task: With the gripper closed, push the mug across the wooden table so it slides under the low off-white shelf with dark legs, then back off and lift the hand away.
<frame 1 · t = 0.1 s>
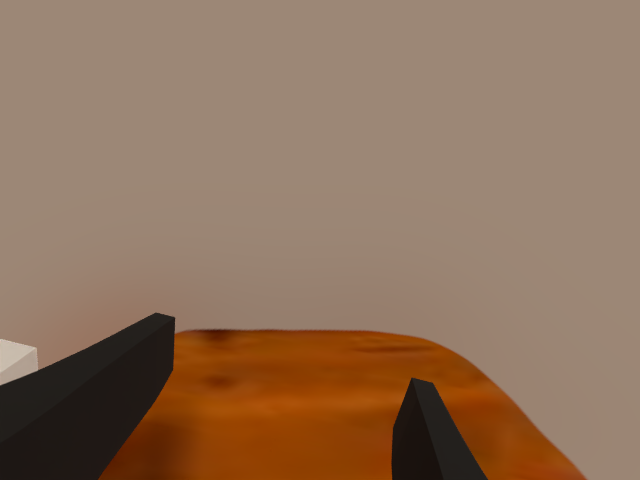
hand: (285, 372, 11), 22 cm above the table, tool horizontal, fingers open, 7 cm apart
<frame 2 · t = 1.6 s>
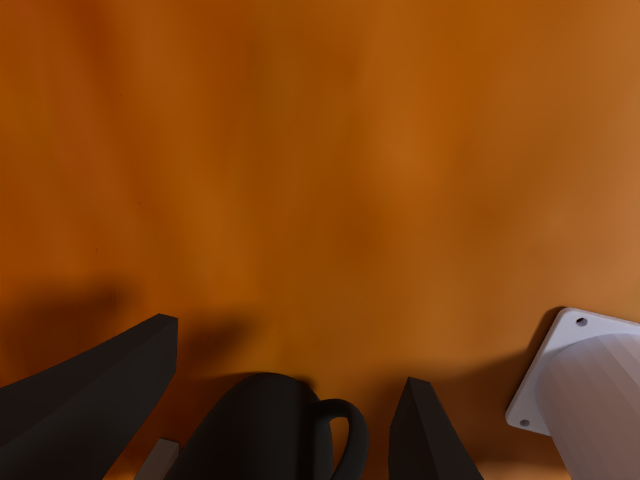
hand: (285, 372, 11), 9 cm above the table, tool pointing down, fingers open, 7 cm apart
mug: (295, 398, 25), on the table
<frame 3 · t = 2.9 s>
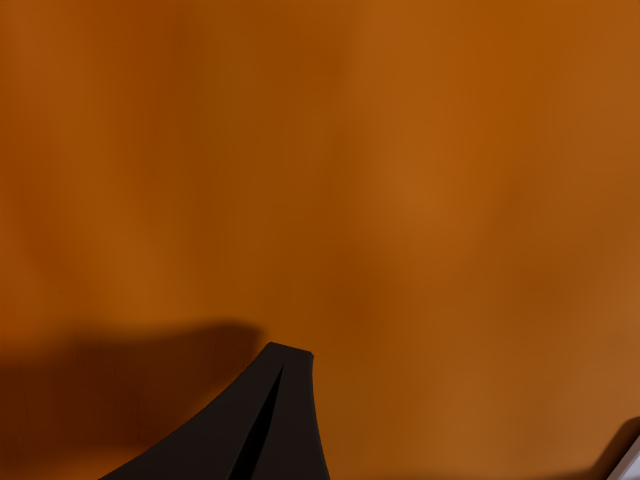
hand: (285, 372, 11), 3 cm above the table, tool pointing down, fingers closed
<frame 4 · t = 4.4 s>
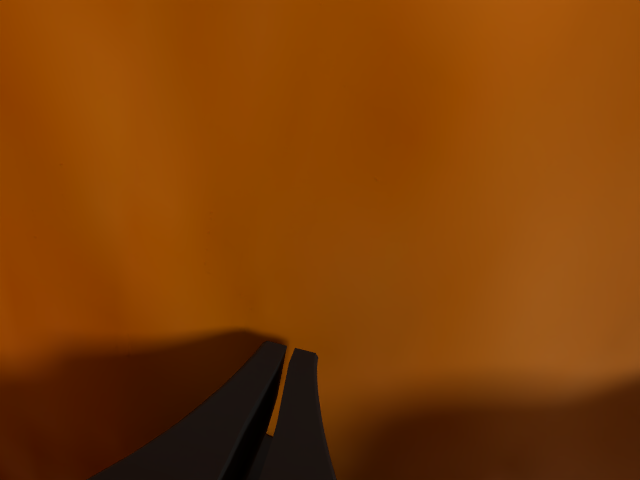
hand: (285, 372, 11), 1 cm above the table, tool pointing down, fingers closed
mug: (275, 466, 15), on the table, touching gripper
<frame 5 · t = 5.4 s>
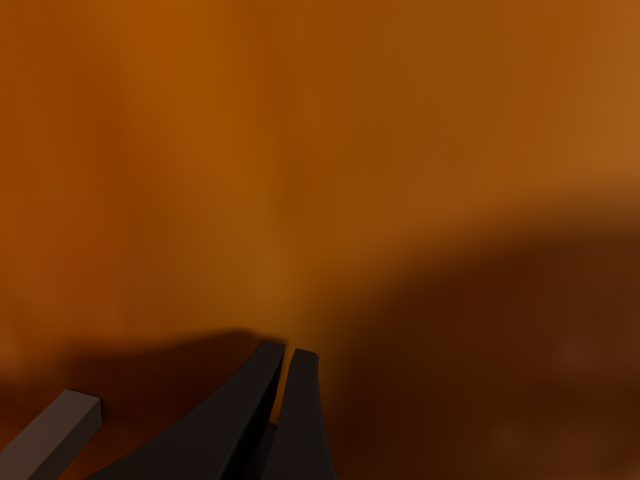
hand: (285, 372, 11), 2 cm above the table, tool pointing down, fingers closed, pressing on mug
mug: (277, 456, 15), on the table, touching gripper
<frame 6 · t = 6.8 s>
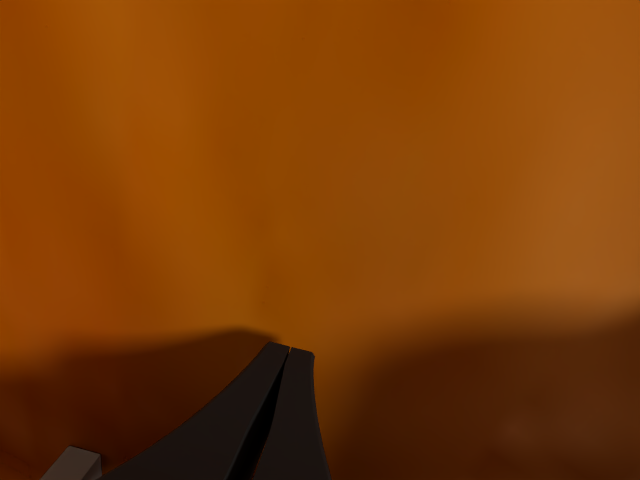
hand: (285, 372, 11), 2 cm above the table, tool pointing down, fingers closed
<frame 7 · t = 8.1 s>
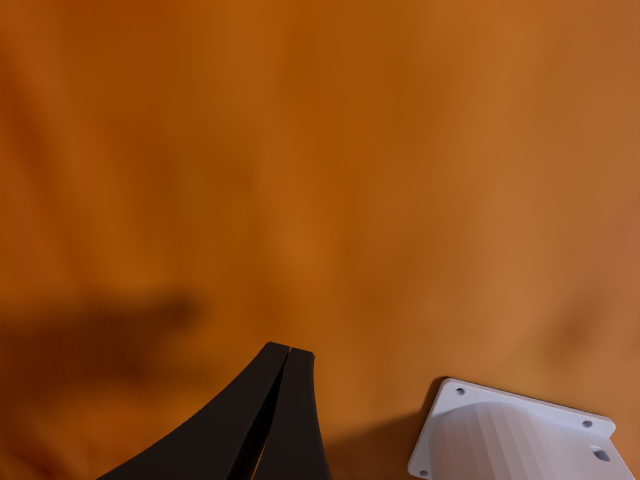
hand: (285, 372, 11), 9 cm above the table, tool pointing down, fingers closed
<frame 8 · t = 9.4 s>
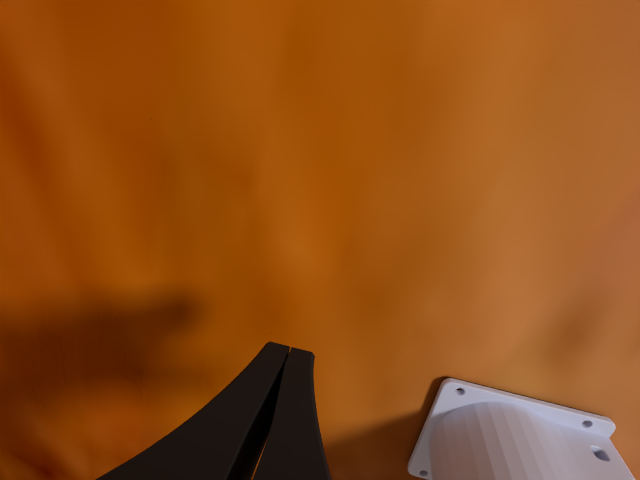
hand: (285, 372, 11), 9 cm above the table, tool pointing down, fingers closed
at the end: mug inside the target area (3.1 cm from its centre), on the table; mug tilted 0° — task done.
